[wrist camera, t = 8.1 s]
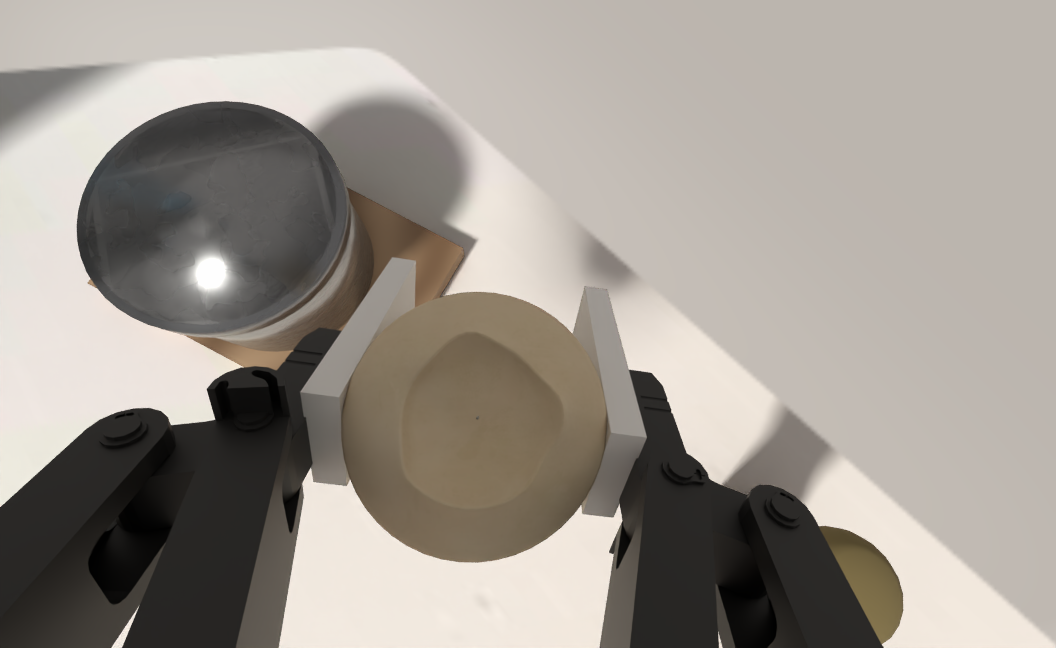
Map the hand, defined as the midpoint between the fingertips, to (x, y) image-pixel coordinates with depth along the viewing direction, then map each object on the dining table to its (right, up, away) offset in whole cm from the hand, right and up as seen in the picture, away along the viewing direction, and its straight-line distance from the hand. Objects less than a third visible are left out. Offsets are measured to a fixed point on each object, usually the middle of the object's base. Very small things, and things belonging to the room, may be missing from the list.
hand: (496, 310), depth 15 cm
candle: (-1, -4, +3) cm, 5 cm away
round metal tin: (-16, +4, +16) cm, 22 cm away
